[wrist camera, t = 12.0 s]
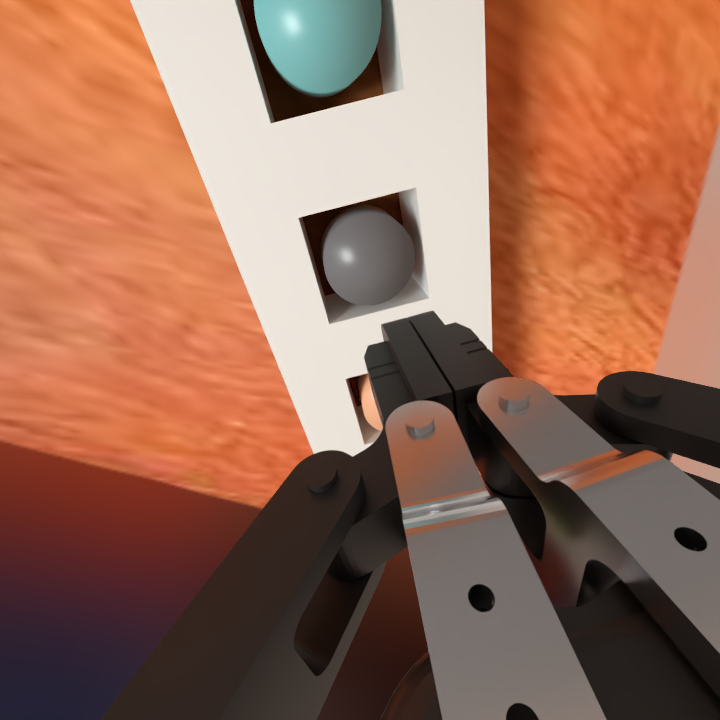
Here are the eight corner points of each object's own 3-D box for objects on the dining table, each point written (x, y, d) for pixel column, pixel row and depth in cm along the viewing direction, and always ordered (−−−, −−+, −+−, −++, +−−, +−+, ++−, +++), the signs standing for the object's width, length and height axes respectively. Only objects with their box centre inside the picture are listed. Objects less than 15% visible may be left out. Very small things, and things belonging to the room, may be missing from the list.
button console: (318, 430, 28) (320, 471, 25) (135, -55, 14) (84, -114, 11) (470, 390, 28) (494, 425, 25) (436, -131, 14) (479, -214, 11)
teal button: (281, 108, 16) (278, 104, 14) (242, -32, 14) (233, -62, 12) (379, 83, 16) (391, 75, 14) (357, -60, 14) (367, -96, 12)
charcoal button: (332, 296, 21) (336, 315, 19) (310, 217, 19) (312, 227, 16) (408, 277, 21) (420, 293, 19) (395, 195, 19) (408, 202, 16)
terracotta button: (365, 415, 26) (371, 440, 24) (351, 363, 23) (356, 386, 21) (426, 398, 26) (437, 422, 24) (418, 345, 23) (430, 366, 21)
